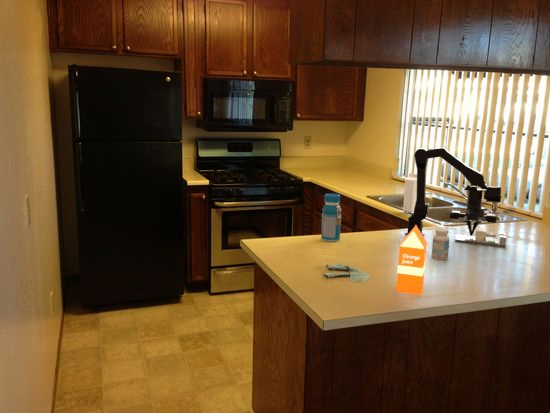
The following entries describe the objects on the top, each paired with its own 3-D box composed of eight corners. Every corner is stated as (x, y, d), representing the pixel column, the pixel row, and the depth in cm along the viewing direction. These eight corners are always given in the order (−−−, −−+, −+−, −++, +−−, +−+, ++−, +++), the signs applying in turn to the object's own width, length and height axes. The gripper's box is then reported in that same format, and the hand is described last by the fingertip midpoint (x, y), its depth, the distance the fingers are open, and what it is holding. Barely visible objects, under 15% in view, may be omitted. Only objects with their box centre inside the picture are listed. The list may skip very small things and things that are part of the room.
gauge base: (455, 242, 216) (455, 232, 215) (456, 236, 225) (457, 227, 224) (505, 247, 208) (506, 237, 207) (505, 242, 217) (506, 232, 216)
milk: (411, 214, 274) (414, 174, 269) (402, 212, 278) (405, 173, 274) (418, 213, 277) (421, 174, 273) (409, 211, 282) (412, 172, 278)
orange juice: (395, 291, 155) (400, 229, 151) (399, 282, 163) (403, 223, 159) (421, 294, 152) (426, 231, 148) (423, 285, 160) (428, 225, 157)
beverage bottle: (324, 242, 211) (326, 196, 207) (318, 237, 219) (320, 193, 215) (342, 241, 212) (345, 196, 209) (336, 236, 220) (338, 192, 217)
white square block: (474, 241, 212) (475, 232, 211) (475, 236, 219) (476, 228, 219) (495, 243, 209) (496, 234, 208) (495, 239, 216) (496, 230, 215)
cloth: (372, 286, 160) (372, 279, 160) (305, 281, 164) (305, 274, 164) (371, 267, 180) (371, 261, 180) (311, 263, 184) (312, 257, 184)
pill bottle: (442, 255, 195) (445, 227, 193) (450, 259, 189) (453, 231, 187) (428, 255, 194) (430, 228, 192) (436, 260, 188) (438, 231, 186)
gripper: (450, 201, 211) (447, 237, 214) (497, 205, 203) (494, 242, 206) (452, 197, 221) (449, 231, 224) (498, 201, 213) (494, 236, 216)
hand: (471, 235), depth 217 cm, fingers closed
